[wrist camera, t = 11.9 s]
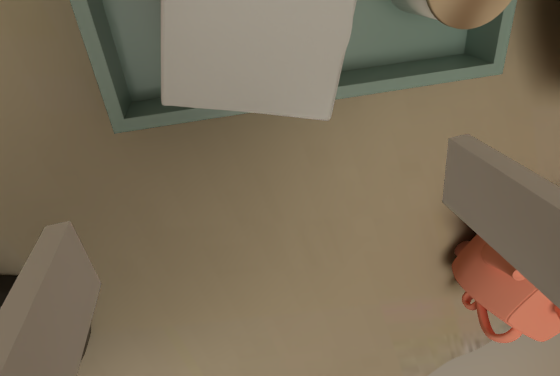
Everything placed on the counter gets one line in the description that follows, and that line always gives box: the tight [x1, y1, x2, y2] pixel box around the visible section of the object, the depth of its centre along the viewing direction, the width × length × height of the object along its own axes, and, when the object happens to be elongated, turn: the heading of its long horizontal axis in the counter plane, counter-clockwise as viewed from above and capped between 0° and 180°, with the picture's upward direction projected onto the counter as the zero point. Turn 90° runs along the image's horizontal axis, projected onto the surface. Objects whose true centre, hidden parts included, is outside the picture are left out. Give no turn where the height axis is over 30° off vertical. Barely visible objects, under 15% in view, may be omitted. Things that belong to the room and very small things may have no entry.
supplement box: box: [161, 0, 357, 121], centre depth 24 cm, size 9×9×15 cm
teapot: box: [452, 234, 560, 343], centre depth 45 cm, size 15×17×13 cm
